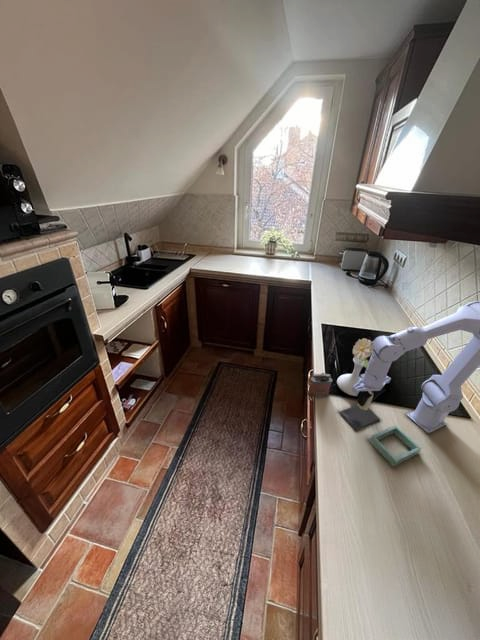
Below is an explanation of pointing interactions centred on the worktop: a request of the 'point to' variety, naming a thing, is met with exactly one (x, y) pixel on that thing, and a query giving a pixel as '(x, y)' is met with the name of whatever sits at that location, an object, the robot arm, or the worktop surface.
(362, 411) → the slate mat
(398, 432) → the green rectangular frame
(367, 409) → the shaving stick
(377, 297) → the worktop surface
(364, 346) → the flower in vase
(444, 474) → the worktop surface
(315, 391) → the lighter
